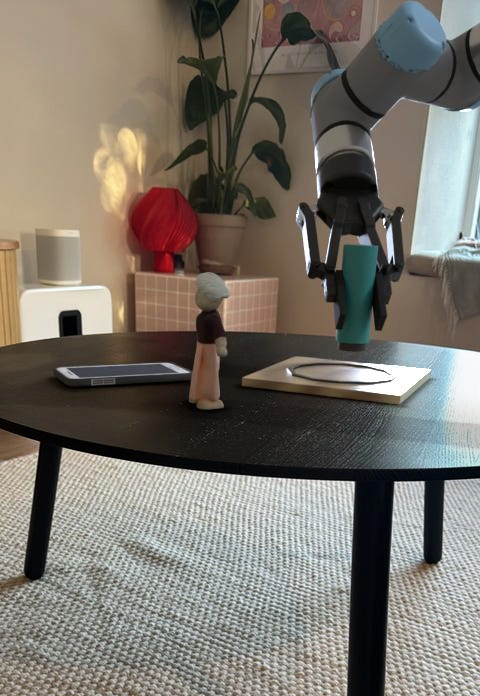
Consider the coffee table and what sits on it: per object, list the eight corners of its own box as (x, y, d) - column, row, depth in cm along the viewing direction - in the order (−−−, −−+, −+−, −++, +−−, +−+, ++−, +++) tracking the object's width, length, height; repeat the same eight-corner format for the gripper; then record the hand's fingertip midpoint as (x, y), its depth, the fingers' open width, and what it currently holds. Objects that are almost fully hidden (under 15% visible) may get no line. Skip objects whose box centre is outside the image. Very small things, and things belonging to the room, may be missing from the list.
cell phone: (196, 381, 86) (196, 372, 86) (68, 388, 80) (67, 379, 79) (171, 369, 92) (171, 361, 92) (51, 375, 86) (51, 366, 86)
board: (430, 377, 94) (431, 368, 94) (399, 404, 78) (401, 393, 78) (294, 363, 100) (295, 354, 100) (241, 386, 85) (241, 375, 85)
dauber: (371, 349, 93) (381, 245, 88) (363, 353, 89) (373, 246, 85) (340, 346, 94) (348, 244, 90) (331, 350, 91) (339, 244, 86)
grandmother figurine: (173, 399, 77) (173, 269, 73) (206, 396, 79) (208, 269, 74) (208, 415, 71) (211, 275, 67) (243, 412, 73) (248, 275, 68)
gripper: (403, 200, 100) (423, 344, 91) (276, 195, 99) (283, 340, 90) (419, 152, 93) (443, 303, 84) (283, 146, 92) (292, 298, 83)
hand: (361, 322), depth 87 cm, fingers closed on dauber, 4 cm apart
